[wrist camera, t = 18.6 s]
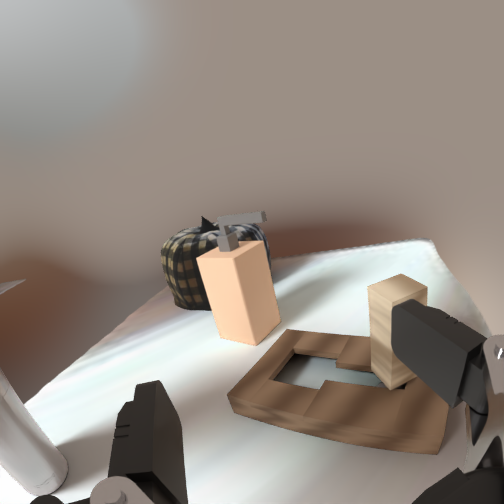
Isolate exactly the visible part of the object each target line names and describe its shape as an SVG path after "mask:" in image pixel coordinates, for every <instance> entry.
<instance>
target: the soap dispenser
mask: <svg viewBox="0 0 504 504" xmlns="http://www.w3.org/2000/svg"><path fill="white" fill-rule="evenodd" d="M217 220H218V224H219V228H220V232H221V235H220V236H218V237H217V238H216V239H217V243H218V247H217V248H215V249H213V250H211V251H209V252H207V253H205V254H203V255H201V256H199V257H197V258H196V259H197V263H198V266H199V270H200V273H201V276H202V280H203V283H204V286H205V290H206V293H207V296H208V299H209V303H210V306H211V309H212V312H213V316H214V319H215V322H216V325H217V328H218V331H219V334H220V337H221V338H223V339H227V340H231V341H236V342H240V343H245V344H249V345H254V346H257V345H258V344H259V343H260V342H261V341H262V340H263V339H264V338H265V337H266V336H267V335H268V334H269V333H270V332H271V331H272V330H273V329H274V328H275V327H276V326H277V325H278V324H279V323H280V322H281V319H280V314H279V310H278V305H277V300H276V296H275V291H274V287H273V282H272V278H271V273H270V269H269V264H268V260H267V255H266V251H265V246H264V242H263V241H239V242H238V238H237V234H236V233H235V232H232V233H230V230H229V225H240V224H251V223H263V222H265V221H267V219H266V214H265V212H264V211H261V212H251V213H242V214H234V215H226V216H220V217H218V218H217Z"/></svg>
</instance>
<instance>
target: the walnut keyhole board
mask: <svg viewBox="0 0 504 504" xmlns="http://www.w3.org/2000/svg"><path fill="white" fill-rule="evenodd" d="M294 353H297V354H304V355H310V356H318V357H325V358H333V359H337V361H336V368H342V369H350V370H359V371H368V372H373V371H372V370H371V340H370V337H364V336H351V335H339V334H328V333H318V332H308V331H299V330H290V329H286V331H285V332H284V333H283V334H282V335H281V336H280V337H279V339H278V340H277V341H276V342H275V343H274V344H273V345H272V347H271V348H270V349H269V350H268V351H267V352H266V353H265V354H264V355H263V357H262V358H261V359H260V360H259V361H258V362H257V363H256V364H255V365H254V366H253V367H252V368H251V370H250V371H249V372H248V373H247V374H246V375H245V376H244V377H243V378H242V379H241V380H240V381H239V382H238V383H237V384H236V386H235V387H234V388H233V389H232V390H231V391H230V392H229V393H228V394H227V396H228V399H229V401H230V404H231V406H232V409H233V411H234V413H237V414H240V415H243V416H246V417H249V418H252V419H255V420H258V421H261V422H265V423H268V424H271V425H275V426H278V427H281V428H285V429H289V430H292V431H296V432H300V433H304V434H308V435H312V436H316V437H320V438H325V439H329V440H334V441H339V442H344V443H349V444H354V445H360V446H366V447H372V448H378V449H385V450H393V451H401V452H411V453H422V454H436V455H437V454H438V451H439V448H440V446H441V443H442V440H443V437H444V433H445V427H446V421H447V415H448V408H449V405H448V404H447V403H446V402H445V401H444V400H443V399H442V398H441V397H440V396H439V395H438V394H436V393H435V392H434V391H433V390H432V389H431V388H430V387H429V386H428V385H427V384H426V383H424V382H423V381H422V380H421V379H420V378H419V377H418V376H417V377H415V378H413V379H411V380H409V381H408V382H407V383H406V387H405V390H404V389H392V390H389V388H382V387H373V386H364V385H356V384H349V383H342V382H335V381H328V380H325V381H324V383H323V385H322V386H321V388H320V390H318V389H312V388H307V387H302V386H297V385H292V384H287V383H282V382H278V381H273V379H274V378H275V377H276V376H277V375H278V373H279V372H280V371H281V370H282V368H283V367H284V366H285V364H286V363H287V362H288V361H289V359H290V358H291V357H292V356H293V354H294Z"/></svg>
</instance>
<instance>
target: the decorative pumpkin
mask: <svg viewBox="0 0 504 504" xmlns="http://www.w3.org/2000/svg"><path fill="white" fill-rule="evenodd" d="M229 230H230V233H232V232H235V233H236V234H237V238H238V242H239V241H263V242H264V246H265V251H266V255H267V260H268V264H269V269H270V270H271V257H270V250H269V246H268V242H267V239H266V236H265V234H264V233H263V231H262V229H261V228H260V227H259V226H258V225H256V224H254V223H251V224H240V225H229ZM220 235H221V232H220V228H219V224H218V222H215V223H211V222H209V221H208V220H207V219H205V218H204V217H202V225H200V226H198V227H195V228H188V229H184V230H182V231H180V232H178V233H177V234H176V235H174V236H172V237H171V238H169V239H168V240H167V241H166V242H165V243H164V245H163V247H162V250H161V261H162V265H163V270H164V273H165V277H166V281H167V283H168V285H169V287H170V290H171V292H172V294H173V296H174V301H175V305H177V306H178V307H181V308H183V309H187V310H205V311H212V309H211V306H210V303H209V299H208V296H207V293H206V290H205V286H204V283H203V280H202V276H201V273H200V270H199V266H198V263H197V259H196V258H197V257H199V256H201V255H203V254H205V253H207V252H209V251H211V250H213V249H215V248H217V247H218V243H217V239H216V238H217V237H218V236H220Z"/></svg>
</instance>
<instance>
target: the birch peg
mask: <svg viewBox="0 0 504 504" xmlns="http://www.w3.org/2000/svg"><path fill="white" fill-rule="evenodd" d="M367 289H368V302H369V318H370V340H371V370H372V371H373V372H374V373H375V374H376V376H377V377H378V378H379V379H380V380H381V381H382V382H381V383H379V384H378V385H377V387H382V388H389V390H392V389H404V390H405V387H406V383H407V382H408V381H409V380H411V379H413V378H415V377H417V375H416V374H415V373H413V372H412V371H411V370H410V369H409V368H408V367H407V366H406V365H405V364H403V363H402V362H401V361H400V360H399V359H398V358H397V357H396V356H395V354H394V352H393V350H392V347H391V311H392V308H393V307H394V306H395V305H398V304H400V303H402V302H404V301H407V300H409V299H415V300H416V301H418V302H420V303H421V304H423V305H425V306H427V286H425V285H423V284H421V283H419V282H417V281H415V280H413V279H411V278H409V277H407V276H405V275H403V274H399V275H396V276H393V277H391V278H388V279H386V280H383V281H380V282H378V283H375V284H372V285H370V286H367Z"/></svg>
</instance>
